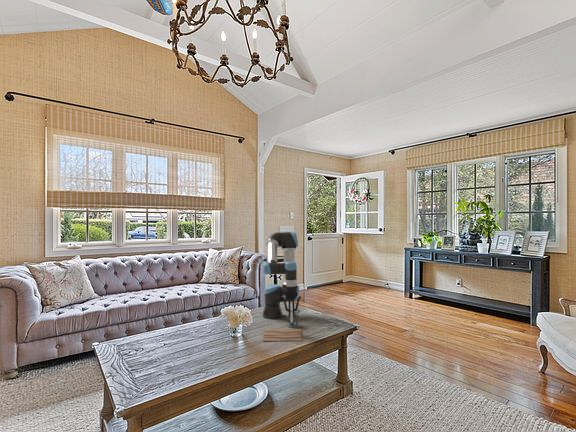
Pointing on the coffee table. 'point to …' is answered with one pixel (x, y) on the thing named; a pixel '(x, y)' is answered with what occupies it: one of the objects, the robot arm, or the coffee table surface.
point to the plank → (282, 332)
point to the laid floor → (282, 338)
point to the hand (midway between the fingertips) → (291, 321)
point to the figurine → (294, 323)
